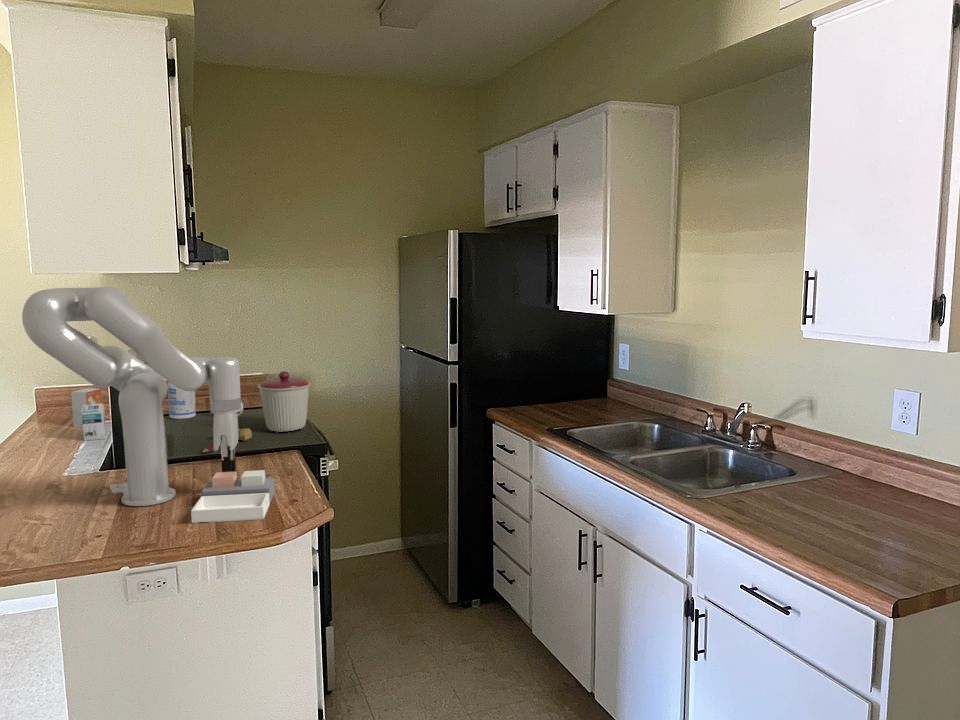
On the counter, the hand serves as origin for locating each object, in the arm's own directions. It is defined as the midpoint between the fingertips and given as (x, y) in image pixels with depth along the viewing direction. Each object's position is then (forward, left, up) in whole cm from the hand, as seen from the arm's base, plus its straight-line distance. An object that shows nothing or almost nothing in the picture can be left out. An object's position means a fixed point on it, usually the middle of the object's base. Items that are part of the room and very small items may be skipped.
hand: (229, 474), depth 187 cm
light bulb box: (-57, +70, -5) cm, 90 cm away
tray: (+4, -17, -5) cm, 18 cm away
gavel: (-12, +49, -5) cm, 51 cm away
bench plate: (+4, -7, -5) cm, 9 cm away
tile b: (+7, -6, -1) cm, 10 cm away
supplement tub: (-35, +98, -5) cm, 104 cm away
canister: (+7, +69, -5) cm, 70 cm away
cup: (-16, +94, -5) cm, 95 cm away
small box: (-67, +90, -5) cm, 112 cm away
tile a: (0, -6, -1) cm, 6 cm away
